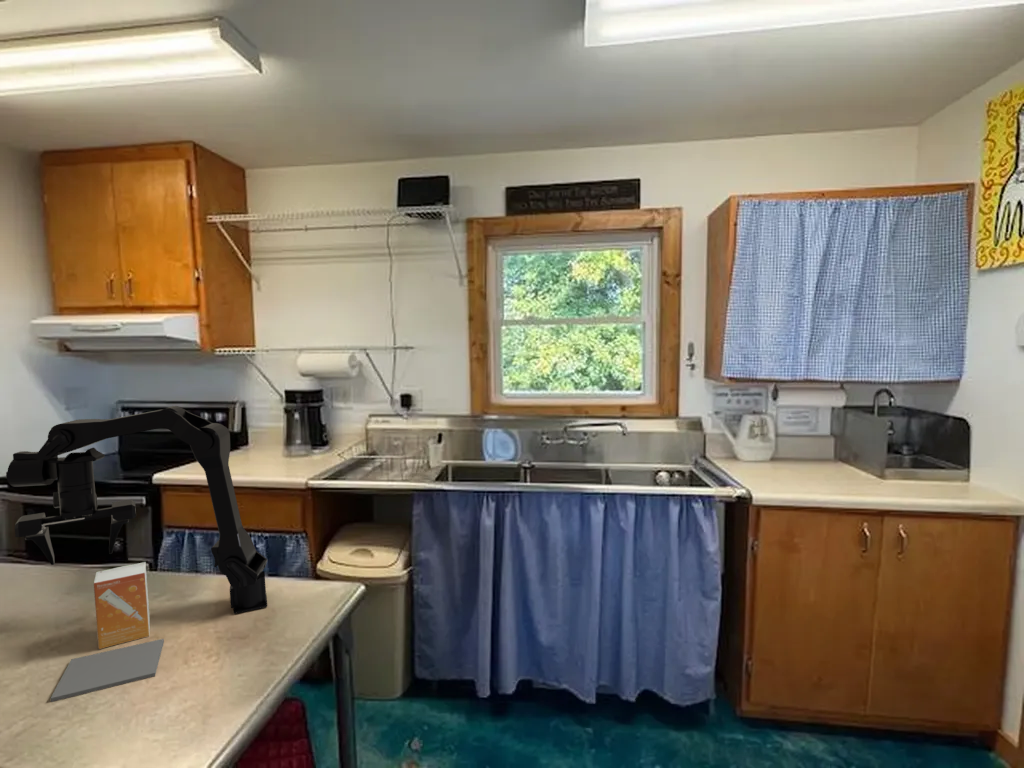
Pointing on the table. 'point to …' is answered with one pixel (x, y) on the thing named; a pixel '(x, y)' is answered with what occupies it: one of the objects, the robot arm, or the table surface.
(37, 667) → the table surface
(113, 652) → the mat
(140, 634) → the small box
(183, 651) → the table surface
